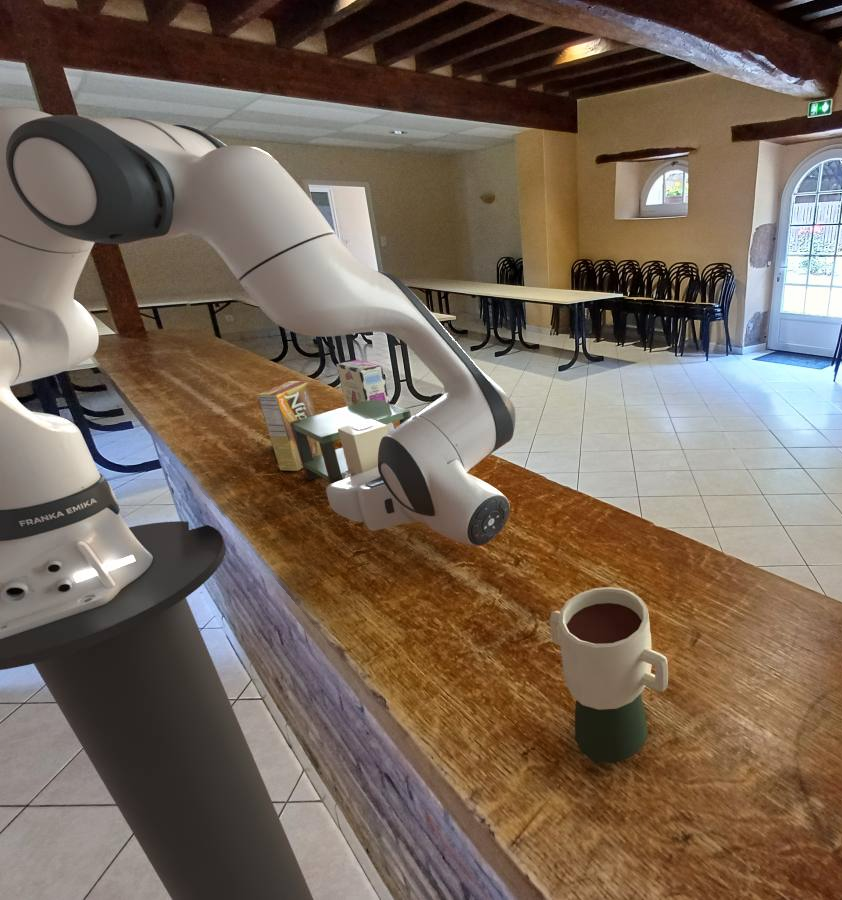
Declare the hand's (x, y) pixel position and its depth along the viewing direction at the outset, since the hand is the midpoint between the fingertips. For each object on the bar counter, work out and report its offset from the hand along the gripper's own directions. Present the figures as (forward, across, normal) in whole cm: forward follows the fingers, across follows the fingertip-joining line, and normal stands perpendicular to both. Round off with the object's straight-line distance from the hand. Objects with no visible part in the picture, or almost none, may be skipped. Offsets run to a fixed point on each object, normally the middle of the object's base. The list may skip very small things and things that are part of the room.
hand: (375, 465), depth 88 cm
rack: (+15, -4, +7) cm, 17 cm away
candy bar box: (+30, -14, +7) cm, 34 cm away
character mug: (-58, +10, +7) cm, 59 cm away
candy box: (+30, +1, +7) cm, 31 cm away
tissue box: (+2, 0, +7) cm, 7 cm away
